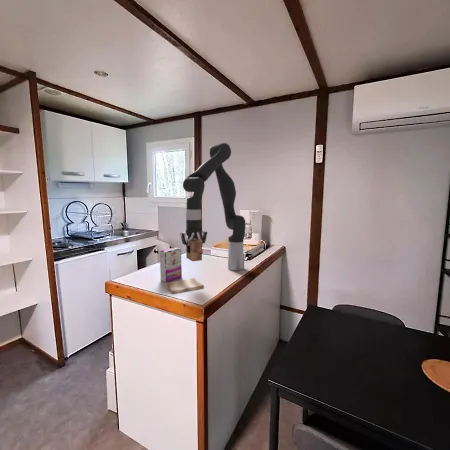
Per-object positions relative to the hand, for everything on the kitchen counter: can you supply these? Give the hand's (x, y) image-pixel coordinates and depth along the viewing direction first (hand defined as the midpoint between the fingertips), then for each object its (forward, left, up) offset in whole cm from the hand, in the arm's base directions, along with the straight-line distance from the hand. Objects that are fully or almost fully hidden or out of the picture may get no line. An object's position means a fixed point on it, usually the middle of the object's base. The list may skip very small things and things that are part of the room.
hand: (194, 252), depth 128 cm
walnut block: (0, 0, -3) cm, 3 cm away
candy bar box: (+7, -14, -17) cm, 23 cm away
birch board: (+5, 0, -17) cm, 18 cm away
